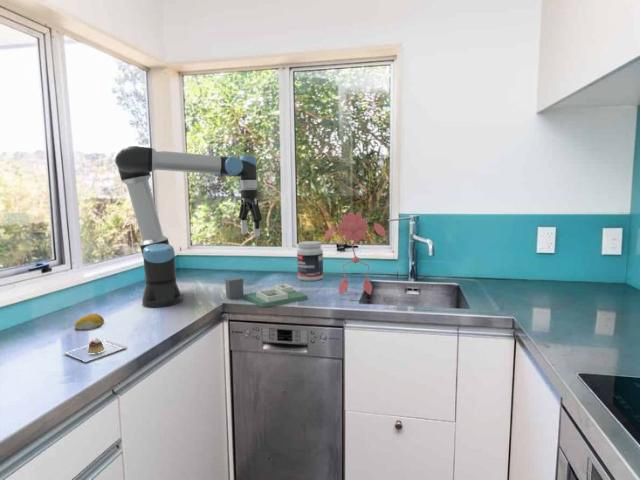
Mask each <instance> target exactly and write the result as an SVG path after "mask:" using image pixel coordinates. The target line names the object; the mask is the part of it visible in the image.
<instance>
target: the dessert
mask: <svg viewBox="0 0 640 480" xmlns="http://www.w3.org/2000/svg"><path fill="white" fill-rule="evenodd" d="M102 342H107V343H110V344H112V345H116V346H118V347H121V348H122V349H124V350H125V348H126V349H128V346H126V345H123V344H120V343H117V342H113V341H111V340H108V339H103V340H100V339H99V338H98V337H95V339H94V340H91V341H90V343H88V344H87V345H85V346H81V347H79V348H75V349H72V350H69V351H66V352H63V354H64V355H66V356H69V357H72V358H75V359H78V360H79V361H81V360H82V359H83V358H81V359H80V357H79V356H76V355H74V354H71V355H70V354H68V353H69V352H72V351H75V350H78V349H81V348H84V347H88V346H89V348H88V349H87V352H88V353H98V352H101V351H103V350H104V349H105V346H104V343H103V344H102ZM122 349H117V350H114V351H111V352H109V353H106V354H103V355H100V356H97V357H94V358H92V359H89V360H86V359H84V360H82V362H84V363H88V362H87V361H89V362H91V361H90V360H92V361H94V360H93V359H95V360H97V359H96V358H98V359H100V358H99V357H101V358H103V357H102V356H104V357H106V356H109V355H112V354H114V352H115V353H117V352H116V351H118V352H121V351H123V350H122ZM120 350H121V351H120ZM111 353H112V354H111ZM108 354H109V355H108ZM73 355H74V356H73ZM105 355H106V356H105ZM75 356H76V357H75ZM78 357H79V358H78ZM85 360H86V361H85Z"/></svg>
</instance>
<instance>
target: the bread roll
mask: <svg viewBox="0 0 640 480" xmlns="http://www.w3.org/2000/svg"><path fill="white" fill-rule="evenodd" d="M104 321H105V319H104V318H103V316H101V315H100V314H98V313H89V314H86V315H84V316H82V317H80V318H79V319H78V320H76V322H75V323H74V328H75V329H76V330H78V329H79V330H81V331H83V330H82V329H87V330H92V329H91V328H93V329H95V327H96V328H99V327H100V326H102V325H103V323H104ZM98 326H99V327H98Z"/></svg>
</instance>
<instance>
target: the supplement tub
mask: <svg viewBox="0 0 640 480" xmlns="http://www.w3.org/2000/svg"><path fill="white" fill-rule="evenodd" d="M298 247H299V248H298V249H297V251H296V252H297V253H296V256H297V260H296V261H297V264H296V265H297V278H298V280H301V281H304V282H315V281H320V280H322V279H323V277H324V255H323V254H324V251H323V249H322V242H321V241H319V240H318V241H316V240H315V241H312V240H311V241H309V240H307V241H306V240H305V241H300V242H298Z"/></svg>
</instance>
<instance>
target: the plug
mask: <svg viewBox="0 0 640 480" xmlns="http://www.w3.org/2000/svg"><path fill="white" fill-rule="evenodd" d="M224 279H225V278H224ZM224 282H225V297H226V299H227V300H230V301H231V300H236V299H237V300H238V299H242V298H243V299H245V298H244V294H245V293H244V292H245V291H244V278H242V277H239V276H237V277H231V278H226V279H225V281H224Z"/></svg>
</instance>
